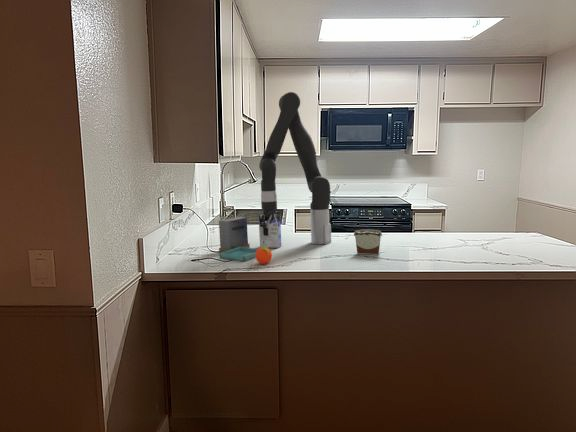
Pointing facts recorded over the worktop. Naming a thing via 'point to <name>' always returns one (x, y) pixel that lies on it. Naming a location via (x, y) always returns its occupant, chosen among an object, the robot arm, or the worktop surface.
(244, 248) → the tray
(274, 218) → the robot arm
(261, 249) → the clementine
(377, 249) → the food container
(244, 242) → the printer unit
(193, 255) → the worktop surface
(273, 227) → the ink cartridge box
